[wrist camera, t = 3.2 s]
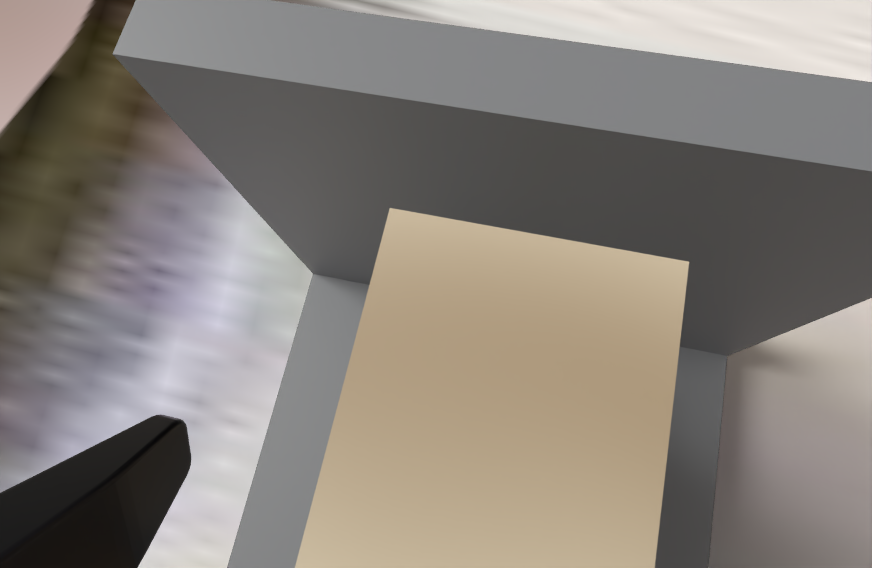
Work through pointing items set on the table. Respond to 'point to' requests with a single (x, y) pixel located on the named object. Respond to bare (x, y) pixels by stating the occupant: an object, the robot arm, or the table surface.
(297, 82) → the rack
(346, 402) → the plywood panel
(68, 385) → the table surface
